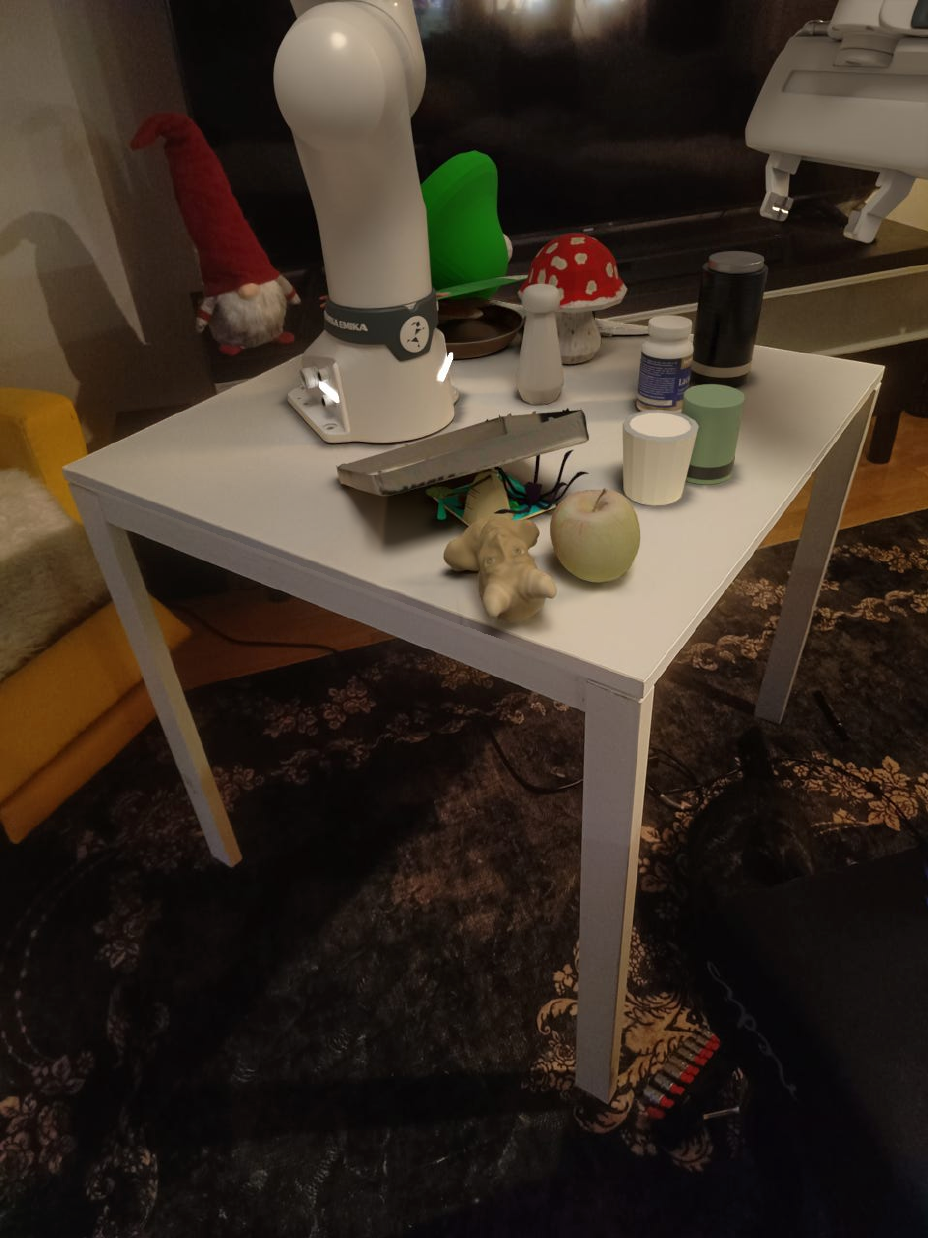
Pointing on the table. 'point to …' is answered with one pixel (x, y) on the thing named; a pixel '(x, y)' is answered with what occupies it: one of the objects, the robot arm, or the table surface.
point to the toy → (465, 224)
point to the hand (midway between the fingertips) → (811, 228)
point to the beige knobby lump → (503, 566)
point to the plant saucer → (481, 332)
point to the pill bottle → (665, 364)
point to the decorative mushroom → (577, 290)
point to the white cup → (657, 455)
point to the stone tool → (461, 308)
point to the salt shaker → (540, 347)
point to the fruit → (595, 534)
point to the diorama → (498, 496)
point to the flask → (727, 318)
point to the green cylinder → (713, 431)
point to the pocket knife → (619, 331)
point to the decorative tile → (465, 451)
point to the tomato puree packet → (478, 286)
